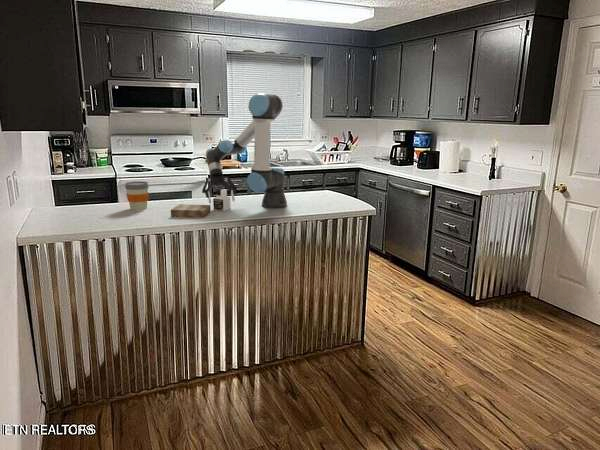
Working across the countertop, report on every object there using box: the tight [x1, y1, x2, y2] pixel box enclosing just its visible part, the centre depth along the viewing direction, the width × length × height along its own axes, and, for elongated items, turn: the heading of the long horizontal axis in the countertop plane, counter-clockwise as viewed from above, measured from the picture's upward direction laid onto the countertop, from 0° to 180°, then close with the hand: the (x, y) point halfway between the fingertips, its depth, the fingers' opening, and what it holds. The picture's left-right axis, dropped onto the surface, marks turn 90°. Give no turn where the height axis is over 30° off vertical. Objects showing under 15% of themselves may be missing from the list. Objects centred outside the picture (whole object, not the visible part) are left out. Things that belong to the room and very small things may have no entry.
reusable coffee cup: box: [124, 180, 150, 211], centre depth 252 cm, size 13×13×15 cm
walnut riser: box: [170, 204, 212, 219], centre depth 241 cm, size 18×14×4 cm
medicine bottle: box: [212, 188, 232, 212], centre depth 253 cm, size 7×7×12 cm
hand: (222, 201), depth 252 cm, fingers open, 13 cm apart
